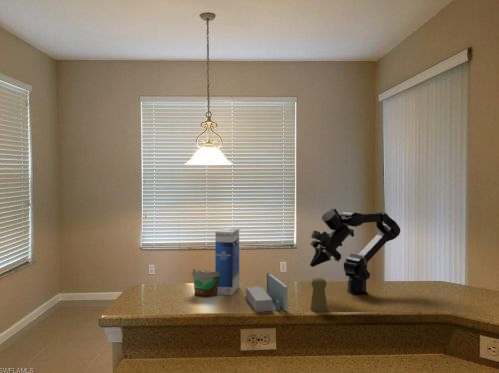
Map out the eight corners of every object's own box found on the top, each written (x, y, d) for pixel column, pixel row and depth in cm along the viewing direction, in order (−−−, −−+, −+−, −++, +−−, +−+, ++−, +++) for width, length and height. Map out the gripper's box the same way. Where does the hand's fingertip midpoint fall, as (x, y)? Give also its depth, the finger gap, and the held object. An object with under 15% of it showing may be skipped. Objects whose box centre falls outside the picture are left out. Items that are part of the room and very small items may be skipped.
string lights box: (223, 286, 170) (223, 227, 170) (240, 287, 168) (240, 228, 168) (214, 294, 157) (214, 231, 157) (232, 295, 155) (232, 231, 155)
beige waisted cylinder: (327, 307, 141) (327, 277, 141) (327, 312, 135) (327, 281, 135) (310, 306, 142) (310, 276, 142) (310, 311, 136) (310, 280, 136)
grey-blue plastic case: (269, 294, 157) (269, 272, 157) (284, 310, 137) (284, 284, 137) (245, 296, 155) (245, 273, 155) (256, 312, 135) (256, 286, 135)
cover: (272, 294, 155) (272, 273, 155) (290, 310, 136) (290, 286, 136) (268, 295, 155) (268, 274, 155) (284, 311, 136) (284, 286, 136)
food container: (185, 296, 155) (185, 271, 155) (193, 292, 161) (193, 268, 161) (213, 299, 150) (212, 273, 150) (220, 295, 156) (219, 270, 156)
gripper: (315, 221, 162) (289, 248, 160) (333, 225, 144) (305, 256, 142) (332, 239, 164) (307, 266, 162) (353, 246, 146) (325, 276, 144)
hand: (311, 265), depth 152 cm, fingers closed
